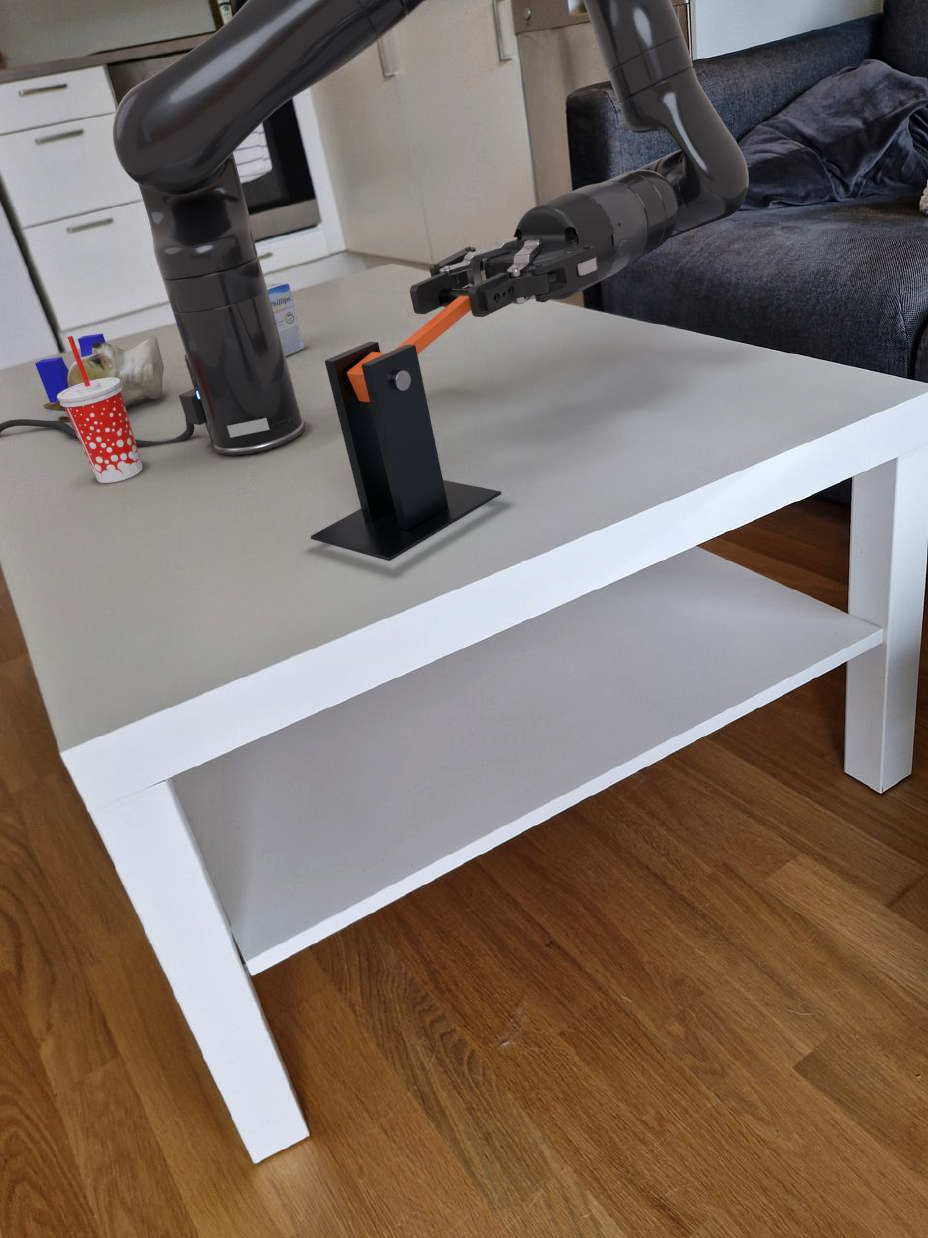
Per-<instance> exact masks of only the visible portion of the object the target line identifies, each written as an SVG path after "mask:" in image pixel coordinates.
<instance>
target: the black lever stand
mask: <svg viewBox="0 0 928 1238" xmlns="http://www.w3.org/2000/svg"><path fill="white" fill-rule="evenodd" d="M380 348H381V347H380V344H379V342H378V341H368V342H365V343H362V344H360V345H358V346H355V347H354V348H353V347H352V348H350V349H349V350H346V351H343V352H341V353H339V354H337V355H334V356H332V357H329V358H328V359H325V360H324V364H325V369H326V373H327V376H328V377H327V378H328V380H329V386H330V389H331V393H332V396H333V401H334V405H335V410H336V413H337V417H338V421H339V424H340V429H341V433H342V436H343V441H344V446H345V450H346V452H347V456H348V461H349V466H350V469H351V474H352V477H353V482H354V485H355V489H356V493H357V497H358V501H359V506H360V508H359V509H357V510H356V511H354V512H352V513H350V514H348V515H346V516H345V517H343V518H341V519H339V520H338V521H335V522H334V523H331V524H330V525H328V526H326V527H324V528H323V529H321V530H319V531H317V532H316V533H314V534H312V535H310V539H311V540H314V541H317V542H321V543H324V544H327V545H331V546H334V547H338V548H341V549H345V550H349V551H353V552H355V553H359V554H363V555H367V556H370V557H373V558H376V559H380V560H383V561H387V562H391V561H392V560H394V559H396V558H397V557H399V556H400V555H403V554H404V553H405V552H408V551H409V550H411V549H412V548H414V547H416V546H417V545H420V544H421V543H422V542H424V541H426V540H428V539H429V538H431V537H433V536H434V535H436V534H437V533H439V532H441V531H442V530H444V529H446V528H448V527H449V526H451V525H452V524H454V523H456V522H457V521H460V520H461V519H462V518H465V516H467V515H469V514H470V513H473V512H474V511H475V510H476V511H477V509H479V508H481V507H482V506H485V505H486V504H487V503H489V502H490V501H493V500H494V499H496V498H497V497H499V496H501V495H502V491H501V490H496V489H492V488H486V487H481V486H475V485H470V484H467V483H461V482H456V481H450V480H445V479H444V477H443V472H442V468H441V463H440V458H439V453H438V449H437V444H436V439H435V434H434V428H433V424H432V420H431V414H430V409H429V405H428V399H427V394H426V391H425V384H424V381H423V375H422V370H421V366H420V361H419V354H418V355H417V350H416V346H415V345H404V346H402V347H400V348H397V347H396V348H397V349H396V348H395V349H393V350H391V351H388V352H385V353H386V354H384V355H382V356H379V357H377V358H375V359H372V360H370V361H368V362H366V363H363V364H362V365H361V366H362V370H363V374H364V379H365V383H366V387H367V392H368V396H369V400H370V402H363V401H359V399H358V397H357V395H356V393H355V390H354V388H353V386H352V384H351V382H350V380H349V377H348V375H347V372H348V371H349V370H350V369H351V368H353V367H354V366H355V365H356V364H358V363H359V362H360V361H361V360H363V359H364V358H365V357H366V356H368V355H369V354H370V353H371V352H379V353H382V352H381V349H380Z"/></svg>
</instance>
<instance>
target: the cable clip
mask: <svg viewBox="0 0 928 1238" xmlns="http://www.w3.org/2000/svg"><path fill="white" fill-rule="evenodd" d="M77 342H78V345H79V350H80V358H82V357H85V356H88V355H92V343H94V342H100V343H102V342H105V343H107V342H106V339H105V336H104V334H103V333H95V334H89V335H82V336H81V337H79V338H77ZM34 365H35V366H36V370H37V373H38V375H39V377H40V380H41V383H42V385H43V388H44V390H45V393H46V395H47V398H48V401H49V403H55V402H56V401H57V400H58V399H57V396H58V394H59V393H61V392H62V391H63V390H65V389H68V388H69V387H68V383H67V375H68V371H69V368H68V366H67V365H66V363H65V361H64V359H63V356H59V357H53V358H52V357H51V358H43V359H40V360H39V361H37V362H35V363H34Z"/></svg>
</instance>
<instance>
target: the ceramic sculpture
mask: <svg viewBox="0 0 928 1238" xmlns="http://www.w3.org/2000/svg"><path fill="white" fill-rule="evenodd" d="M105 342H106V341H105ZM105 342H102V343H100V342H94V343H92V355H88V356H85V357H82V358H81V357H80V358H81V361H82V364H83V366H84V369H85V372H86V375H87V377H88V380H89V381H91V380H96V379H101V378H118V379H120V380H121V385H122V390H121V393H122V396H123V400H124V403H125V407H126V408H127V407H128V406H129V405H130V404H132V403H133V402H135V401H137V400H140V399H148V400H153V401H155V400H159V399H160V398H161V396H162V394H163V374H164V369H165V366H164V362H163V358H162V354H161V349H160V347H159V341H158V339H157V336H156V335H153V334H152V335H150V336H149V337H148V339H146V340H144V341H142V342H139V344H138V345H136V346H135V347H134V348H131V349H122V348H120V347H118V346H117V344H114V343H111V342H110V343H107V342H106V343H105ZM68 370H69V371H68V375H67V383H68V387H69V388H70V387H72V386H75V385H78V384H81V383H84V381H83V378H82V376H81V373H80V370H79V368H78V365H77V362H76V360H74V361H73V363H72V364H71V366H70V367H69V368H68ZM42 406H43V408H44V409H46V410H51V411H58V412H65V413H64V414H63V415H61V416H59V417H57V419H56V421H58V422H63V423H66V424H67V423H71V421H70V419H69V417H68V415H67V412H66V410H65V408H64V407H63V406H61V405H60V401H59V400H57V401H56V402H55V403H50V402H46V403H44V404H43V405H42Z"/></svg>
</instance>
